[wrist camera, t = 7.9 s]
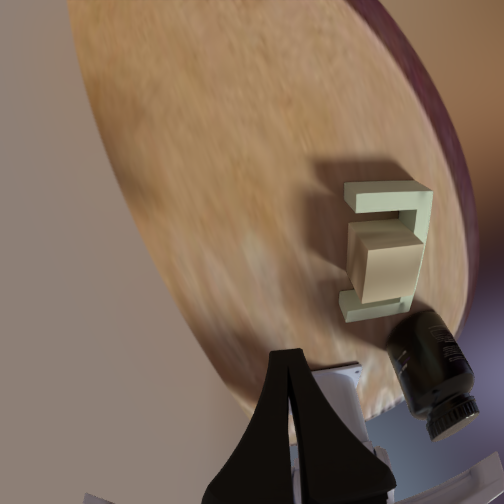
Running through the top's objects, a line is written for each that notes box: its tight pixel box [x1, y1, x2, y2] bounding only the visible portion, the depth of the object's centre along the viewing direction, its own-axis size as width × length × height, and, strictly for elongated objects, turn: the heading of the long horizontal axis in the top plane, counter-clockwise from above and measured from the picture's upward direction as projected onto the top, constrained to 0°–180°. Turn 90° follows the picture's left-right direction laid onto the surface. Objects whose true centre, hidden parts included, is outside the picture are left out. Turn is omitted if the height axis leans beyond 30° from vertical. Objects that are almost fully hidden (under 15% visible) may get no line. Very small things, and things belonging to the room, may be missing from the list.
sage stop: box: [339, 180, 433, 323], centre depth 18 cm, size 10×6×2 cm, turn 7°
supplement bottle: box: [387, 311, 479, 442], centre depth 19 cm, size 7×7×12 cm
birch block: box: [346, 219, 424, 304], centre depth 17 cm, size 4×4×4 cm
